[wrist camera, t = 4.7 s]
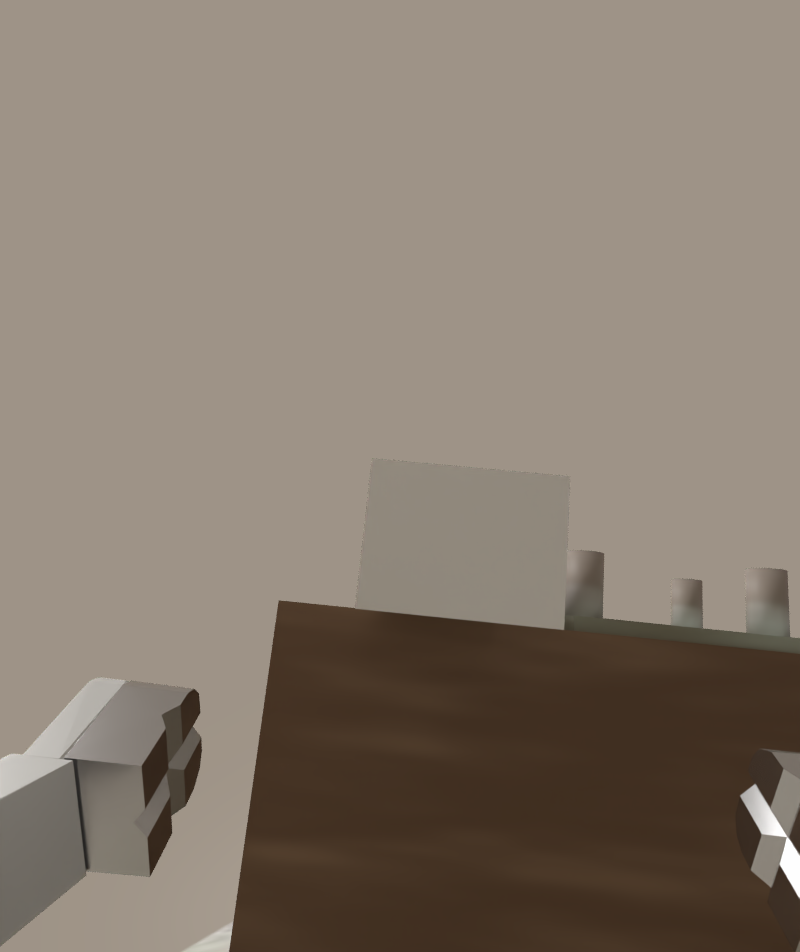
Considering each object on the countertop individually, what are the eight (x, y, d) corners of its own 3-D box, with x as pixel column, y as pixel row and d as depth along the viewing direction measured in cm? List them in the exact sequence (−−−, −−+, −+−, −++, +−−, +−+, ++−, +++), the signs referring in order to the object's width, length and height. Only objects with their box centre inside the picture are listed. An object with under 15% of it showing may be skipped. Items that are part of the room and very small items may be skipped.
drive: (394, 612, 33) (399, 555, 34) (467, 619, 33) (471, 562, 34) (354, 608, 12) (372, 453, 12) (564, 630, 11) (570, 471, 12)
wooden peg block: (265, 1166, 29) (339, 552, 35) (696, 1230, 28) (692, 587, 34) (127, 1674, 15) (291, 513, 21) (972, 1833, 14) (878, 569, 20)
